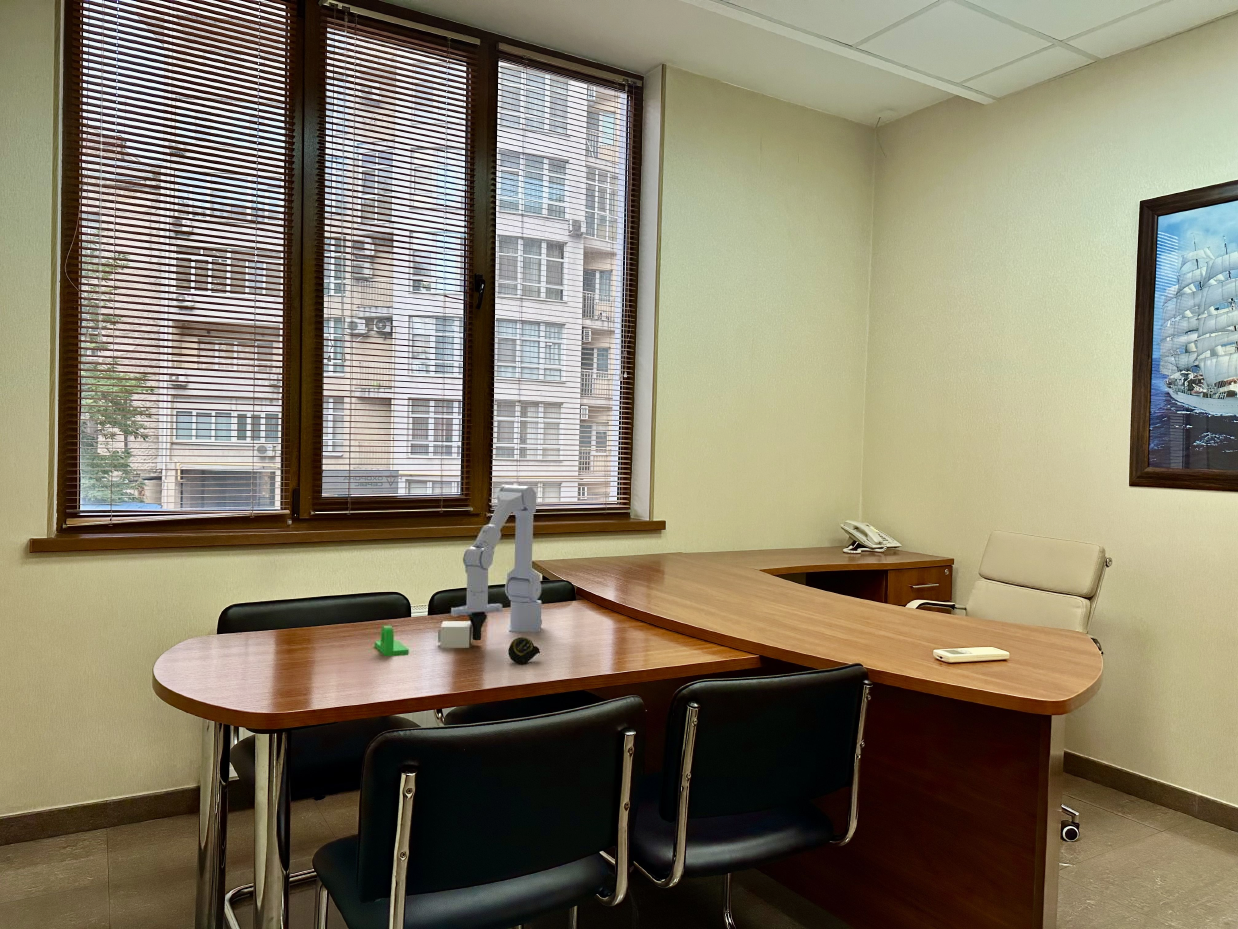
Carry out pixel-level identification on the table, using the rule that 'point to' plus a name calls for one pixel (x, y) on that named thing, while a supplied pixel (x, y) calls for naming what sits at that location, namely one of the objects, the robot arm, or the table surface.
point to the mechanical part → (390, 643)
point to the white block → (456, 634)
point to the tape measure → (522, 650)
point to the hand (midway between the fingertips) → (476, 639)
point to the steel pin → (440, 636)
